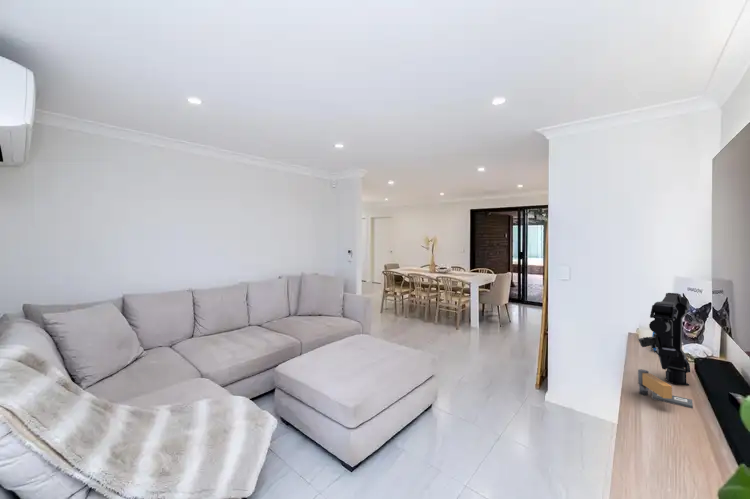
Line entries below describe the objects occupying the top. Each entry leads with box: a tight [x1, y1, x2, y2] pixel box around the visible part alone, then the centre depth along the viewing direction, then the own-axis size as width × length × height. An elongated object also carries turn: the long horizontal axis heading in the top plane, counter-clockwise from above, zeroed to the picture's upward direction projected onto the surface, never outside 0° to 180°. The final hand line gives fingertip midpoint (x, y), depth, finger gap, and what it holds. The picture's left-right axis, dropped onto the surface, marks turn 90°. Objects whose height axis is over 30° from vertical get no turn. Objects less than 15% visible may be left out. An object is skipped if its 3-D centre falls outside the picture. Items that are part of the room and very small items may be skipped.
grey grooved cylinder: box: [638, 384, 649, 396], centre depth 144 cm, size 3×3×4 cm
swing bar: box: [637, 368, 673, 399], centre depth 137 cm, size 17×4×6 cm, turn 170°
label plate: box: [651, 391, 694, 409], centre depth 137 cm, size 12×7×1 cm, turn 46°
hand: (663, 369), depth 139 cm, fingers closed
